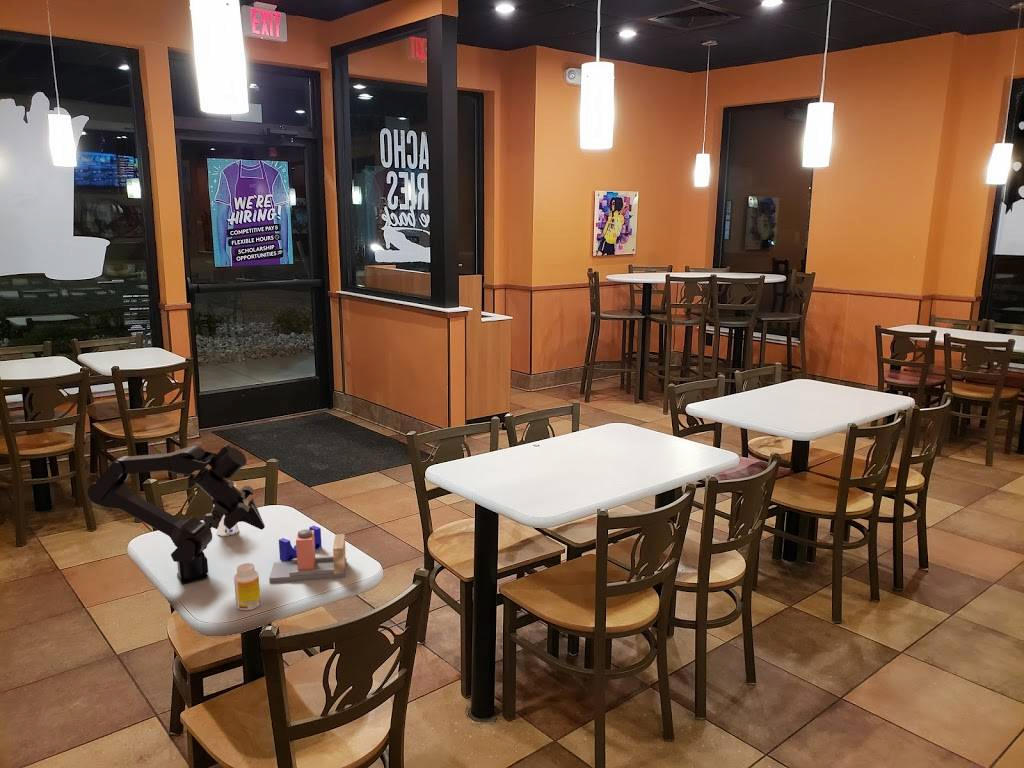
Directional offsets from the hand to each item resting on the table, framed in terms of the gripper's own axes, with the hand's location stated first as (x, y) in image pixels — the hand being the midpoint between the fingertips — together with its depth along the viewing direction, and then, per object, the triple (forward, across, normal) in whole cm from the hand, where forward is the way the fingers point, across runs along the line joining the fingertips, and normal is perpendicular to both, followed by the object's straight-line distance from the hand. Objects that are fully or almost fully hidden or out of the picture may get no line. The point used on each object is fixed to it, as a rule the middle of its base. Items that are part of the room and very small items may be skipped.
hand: (263, 528), depth 198 cm
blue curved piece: (+15, -12, -2) cm, 20 cm away
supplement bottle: (+8, +15, -12) cm, 21 cm away
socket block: (+21, +1, +6) cm, 22 cm away
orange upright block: (+15, +1, 0) cm, 15 cm away
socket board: (+17, +1, 0) cm, 17 cm away
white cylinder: (0, -31, -18) cm, 36 cm away
